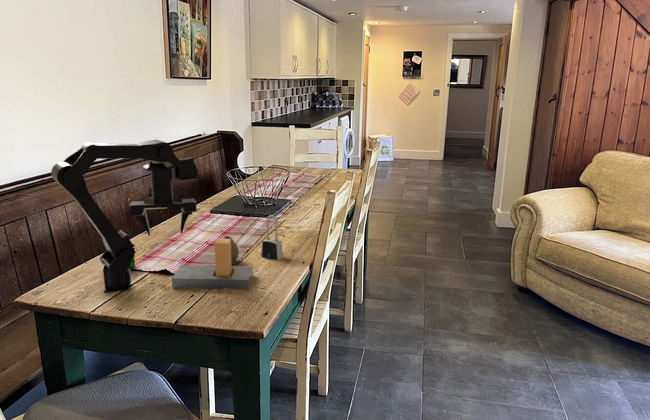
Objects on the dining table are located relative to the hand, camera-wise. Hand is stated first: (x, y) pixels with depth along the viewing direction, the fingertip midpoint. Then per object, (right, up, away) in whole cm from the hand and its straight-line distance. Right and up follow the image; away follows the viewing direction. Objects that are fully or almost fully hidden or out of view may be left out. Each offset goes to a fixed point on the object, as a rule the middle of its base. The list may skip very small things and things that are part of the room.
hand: (165, 234), depth 145 cm
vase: (+16, -10, +14) cm, 24 cm away
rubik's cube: (-16, -11, +8) cm, 21 cm away
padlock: (+30, -9, +19) cm, 37 cm away
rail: (+15, -14, -1) cm, 21 cm away
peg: (+18, -14, -1) cm, 23 cm away
